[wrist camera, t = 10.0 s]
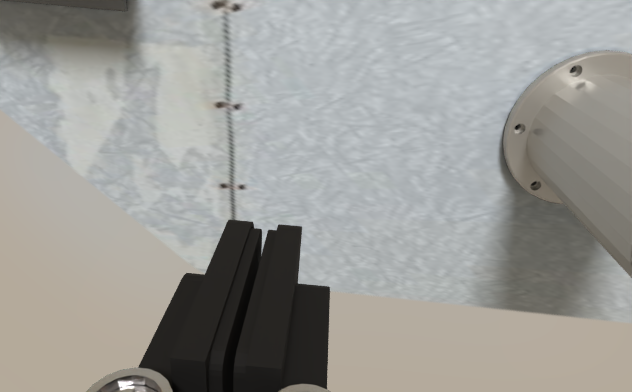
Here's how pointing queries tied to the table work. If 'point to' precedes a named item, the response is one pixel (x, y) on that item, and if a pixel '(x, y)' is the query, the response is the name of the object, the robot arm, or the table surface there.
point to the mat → (84, 3)
